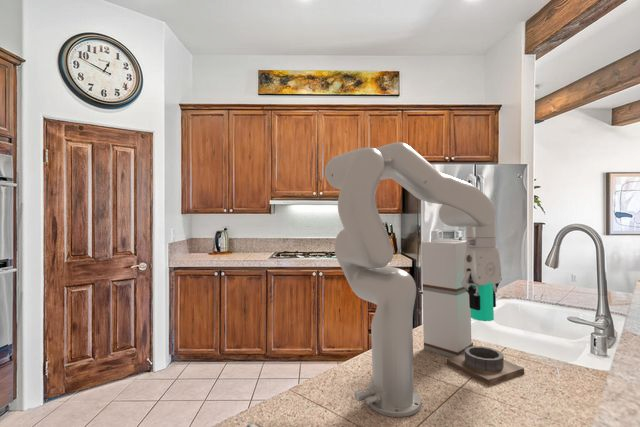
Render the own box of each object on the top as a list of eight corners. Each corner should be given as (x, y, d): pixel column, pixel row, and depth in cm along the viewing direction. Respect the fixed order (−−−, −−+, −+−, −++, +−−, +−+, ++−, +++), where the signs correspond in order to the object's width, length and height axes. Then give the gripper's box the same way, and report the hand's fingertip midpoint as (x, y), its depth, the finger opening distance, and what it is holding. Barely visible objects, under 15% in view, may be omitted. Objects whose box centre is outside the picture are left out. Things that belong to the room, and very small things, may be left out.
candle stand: (488, 385, 86) (488, 368, 86) (446, 364, 98) (446, 348, 98) (524, 373, 92) (523, 357, 92) (480, 354, 104) (479, 340, 104)
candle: (497, 321, 91) (495, 277, 91) (473, 320, 93) (472, 277, 93) (490, 315, 97) (489, 273, 97) (468, 314, 99) (467, 273, 99)
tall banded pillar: (473, 349, 109) (470, 240, 109) (458, 359, 102) (455, 243, 102) (440, 340, 117) (437, 239, 117) (423, 348, 110) (421, 241, 110)
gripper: (470, 246, 88) (472, 315, 88) (513, 242, 95) (515, 306, 95) (448, 244, 95) (450, 308, 95) (490, 241, 102) (491, 300, 102)
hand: (482, 306), depth 95 cm, fingers closed on candle, 5 cm apart
